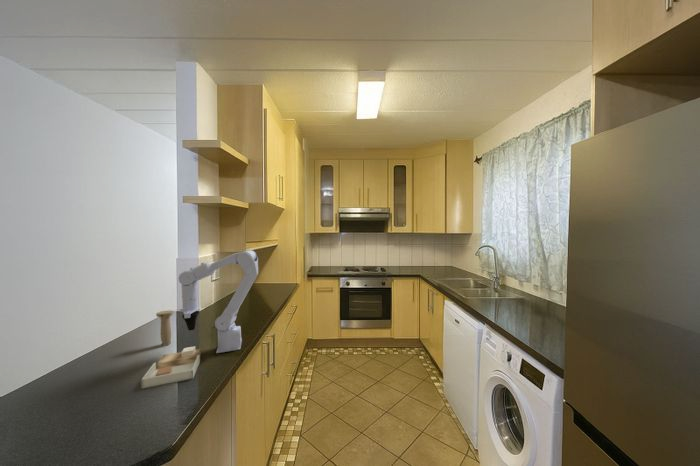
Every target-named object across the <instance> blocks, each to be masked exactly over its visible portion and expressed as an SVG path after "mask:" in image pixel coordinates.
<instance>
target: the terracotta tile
mask: <svg viewBox="0 0 700 466" xmlns="http://www.w3.org/2000/svg"><path fill="white" fill-rule="evenodd" d="M157 369H158V368H157ZM171 373H172V366H170V367H165V368H161V369H158V371H157V373H156V376H160V375H165V374H171Z"/></svg>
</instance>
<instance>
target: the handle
mask: <svg viewBox="0 0 700 466" xmlns="http://www.w3.org/2000/svg"><path fill="white" fill-rule="evenodd" d="M155 315H156V318H157V317H158V318H159V319H160V341H161V345H162V346H164V347H165V346H168V345H170V344H171V342H172V328H171V319H170V317H171V316H172V315H174V310H171V309H169V310H162V311H161V310H160V311H158V312H156V313H155Z"/></svg>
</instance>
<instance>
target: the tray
mask: <svg viewBox="0 0 700 466" xmlns="http://www.w3.org/2000/svg"><path fill="white" fill-rule="evenodd" d="M200 363H201V355H198V356H197V358H196V360H195V362H193V363H188V364H182V365H177V366H172V373H171V374H165V375H160V376H156V373H157V371H158V368H157V362H153V364H152V365H150V367H149V369H148V370H147V371H146V373H144V375H143V376H142V378H141V379H140V386H141V388H140V389H141V390H143V389H148V388H153V387H158V386H162V385H167V384H168V385H169V384H173V383H178V382H183V381H187V380H192V379H194V378H195V376H196V373H197V371H198V369H199V366H200ZM160 369H161V368H160Z"/></svg>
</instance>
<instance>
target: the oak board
mask: <svg viewBox="0 0 700 466" xmlns="http://www.w3.org/2000/svg"><path fill="white" fill-rule="evenodd" d="M195 350H196V351H195V353H194V355H193V356H188V357H182V354H181V352H182V351H180V352H175V353H174V352H173V353H167V354H163V355H162V357H161V358H160V359H159V360H158V361H157V362H156V367H157V369H160V368H165V367H170V366H177V365H182V364H188V363H193V362H195V360H196V358H197V356H198V355H200V356H201V355H202V354H201V352H202V351H201V348H197V349H196V348H195Z"/></svg>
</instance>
